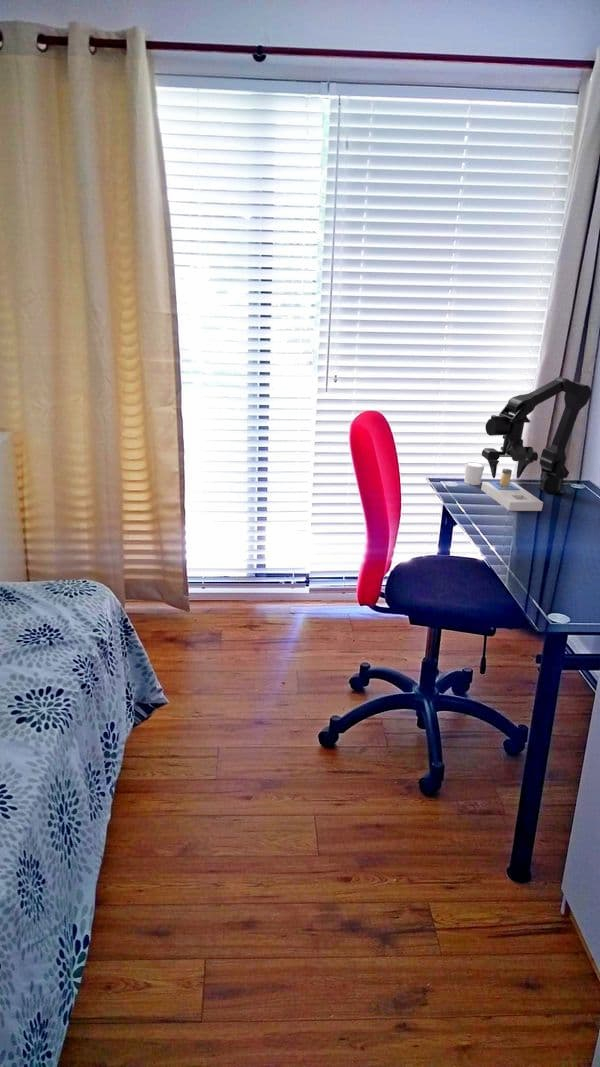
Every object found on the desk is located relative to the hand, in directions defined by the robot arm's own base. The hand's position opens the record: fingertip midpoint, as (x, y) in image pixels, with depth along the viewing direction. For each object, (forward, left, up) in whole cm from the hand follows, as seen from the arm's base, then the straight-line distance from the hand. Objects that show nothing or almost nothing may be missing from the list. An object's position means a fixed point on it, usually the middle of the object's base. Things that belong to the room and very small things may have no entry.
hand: (505, 478), depth 273 cm
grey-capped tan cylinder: (0, 0, -6) cm, 6 cm away
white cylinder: (+6, -13, -6) cm, 16 cm away
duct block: (0, +6, -6) cm, 8 cm away
